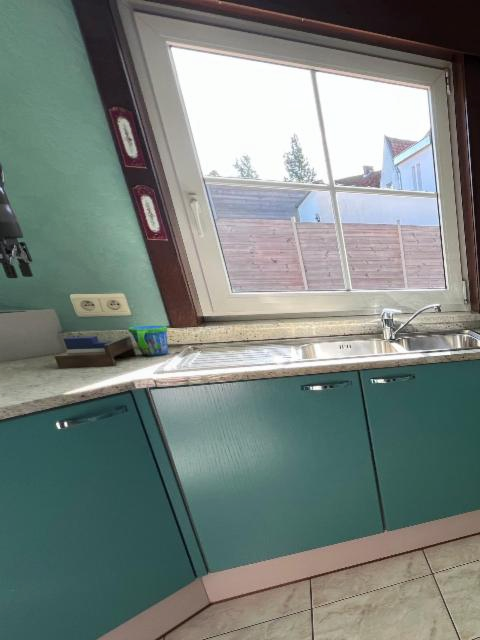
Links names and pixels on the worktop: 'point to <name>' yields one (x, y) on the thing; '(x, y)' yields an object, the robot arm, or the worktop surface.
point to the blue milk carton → (84, 344)
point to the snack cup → (151, 339)
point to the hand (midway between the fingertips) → (20, 277)
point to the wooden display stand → (97, 355)
